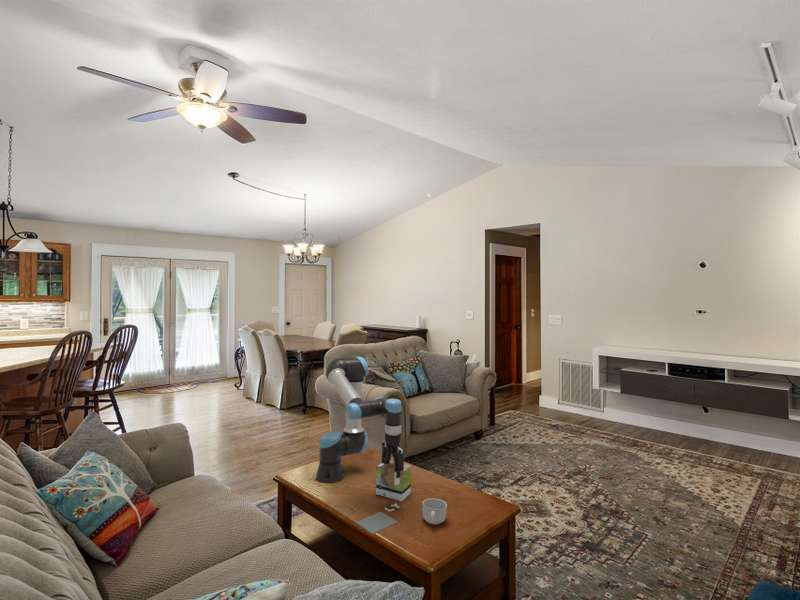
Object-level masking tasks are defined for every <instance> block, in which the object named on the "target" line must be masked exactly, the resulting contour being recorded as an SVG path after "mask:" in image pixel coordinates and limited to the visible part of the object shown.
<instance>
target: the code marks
mask: <svg viewBox="0 0 800 600" xmlns="http://www.w3.org/2000/svg"><path fill="white" fill-rule="evenodd" d="M390 507H396V508H397V509H399V508H400V506H398V503H396V502H395V503H394V504H391V505H390ZM384 509H385V511H387V512H392V511H395V510H396V509H395V508H392V509H388V507H384Z"/></svg>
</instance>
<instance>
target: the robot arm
mask: <svg viewBox="0 0 800 600" xmlns="http://www.w3.org/2000/svg"><path fill="white" fill-rule="evenodd" d="M368 375H369V365H368V362H367V360H366V359H365V358H364V357H363V356H348V357H345V356H344V357H337V358H334V359H333V360H331V361H330V362H329V363H328V364H327V366H326V369H325V376H326V379H327V381H328V382H329V384H331V385H333V387H334V388H335V390H336V391H337V393H338V395H340V398H341V400H342V401H344V404H345V427H344V428H343V431H342V433H341V432H340V431H329V432H326V433H324V434H323V435H322V436H320V438H319V444H318V448H319V464H318V467H317V471H316V474H315V476H316V477H315V479H316V481H318V482H321V483H324V482H325V484H329V483H330V484H331V483H336V482H339V481H341V480H343V479H344V478H345V470H344V467H343V464H342V457H346V456H351V455H359V454H360V453H363V452H365V451H366V450H367V448H368V446H369V437H368V433H367V431H366V430H365V427H363V426H362V419H366V418H372V417H373V418H374V417H380V416H381V417H384V421H385V422H384V424H385V425H384V432H385V433H384V442H381V463H384V465H385V464H388V463H390V461H391V460H392V459H391V458H393V462H394V464H395V471H394V485H397V484H400V471H403V470H404V464H405V462H404V461H405V459H404V454H405V449H404V448H401V446H400V443H401V441H402V434H401V433H402V410H403V408H402V401H401V400H400V399H396V398H388V399H386V398H384V397H376V398H375V399H373V400H366V401H363V399H362V384H363V383H364V382H365V378H366V377H367V376H368Z"/></svg>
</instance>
